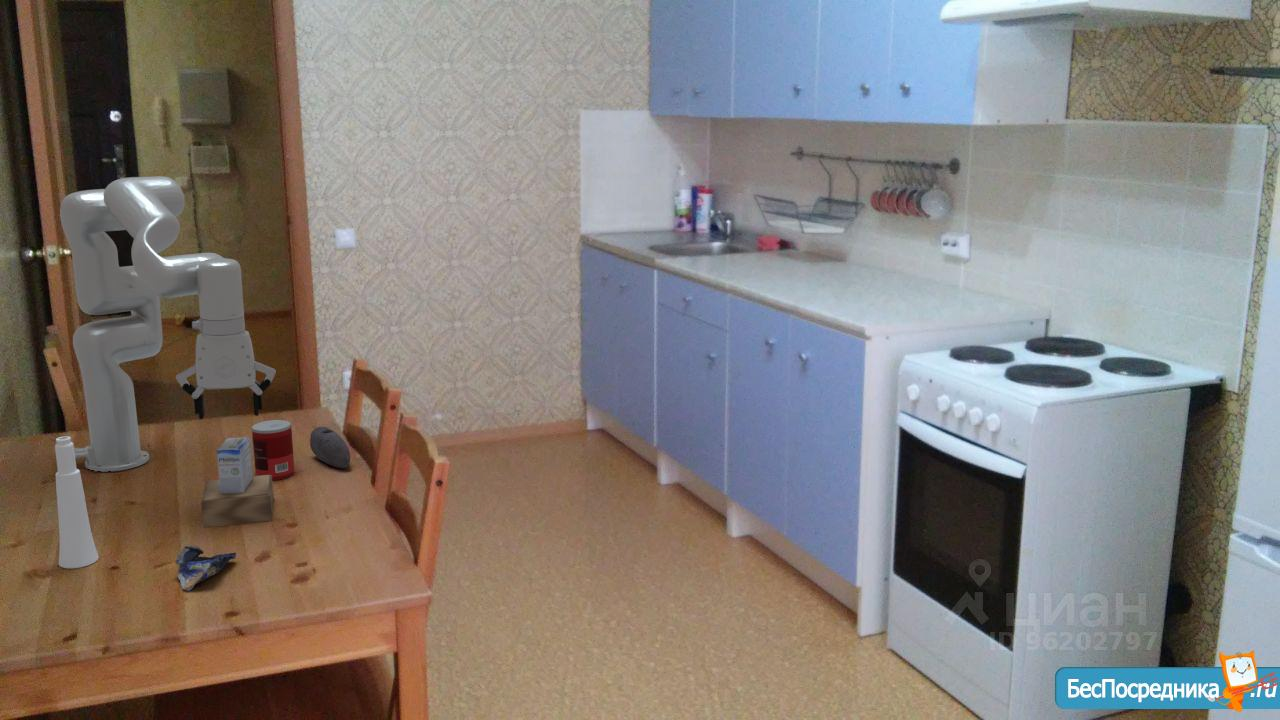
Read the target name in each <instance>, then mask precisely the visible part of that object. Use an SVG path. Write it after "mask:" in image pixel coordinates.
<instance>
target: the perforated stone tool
mask: <svg viewBox="0 0 1280 720" xmlns="http://www.w3.org/2000/svg"><path fill="white" fill-rule="evenodd" d="M309 446H310V450H311V451H312V453H313V454H314V456H316V458H317V459H318V460H320V461H322V462H323V463H326V464H327V465H330V466H332V467H334V468H337V469H346V468H347V467H349V465H350V463H351V452H350V449H349V446H348V444H347V442H345V440H344V438H342V437H341V436H340V435H339V434H338V433H337V432H336V431H335V430H332V429H330V428H329V427H325V426H319V427H316V428H314V429H313V430H312V431H311V433H310V439H309Z"/></svg>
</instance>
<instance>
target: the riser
mask: <svg viewBox="0 0 1280 720" xmlns="http://www.w3.org/2000/svg"><path fill="white" fill-rule="evenodd" d="M274 501H275V499H274V485H273V481H272V475H262V476H257V475H253V479H252V480H251V482H250V484H249V485H248V487H247V488H246V490H245V492H244V493H237V494H221V493H220V484H219V479H211V480H206V482H205V486H204V490H203V494H202V498H201V502H200V504H201V505H200V506H201V514H202V525H203V529H204V528H205V529H206V528H213V527H224V526H234V525H241V524H251V523H259V522H260V523H261V522H270V521H271V522H272V521H273V519H274V518H273V514H274Z"/></svg>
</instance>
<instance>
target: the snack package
mask: <svg viewBox="0 0 1280 720" xmlns="http://www.w3.org/2000/svg"><path fill="white" fill-rule="evenodd" d="M203 554H204V551H203V550H202V549H201V548H200V547H198V546H195V545H194V546H193V545H189V546H188V545H187V546H184V547H183V549H181V551H179V553H178V554H177V555H176V559H175V562H174V563H175V565H177V566H179V567H178V568H177V569H178V571H177V578H178V580H179V581H180V586H181V588H182V590H184V591H187V592H191V590H193V588H195V585H197V584H199V583H201V582H203V581H205V580H206V579H208V578H210V577H212V576H214V575H216V574H218V573H219V572H221V570H222V569H223V568H224V567H225V566H226V564H228V563H229V561H230V560H234V559H236V557H237V553H236V552H230V553H224V554H223V553H221V554H215V555H213V556H211V557H207V556H200V555H203ZM200 573H202V575H200V577H199V578H198V579H197V580H196V581H195V582H194V583H193V584H191V585H189V586H188V587H185V585H187V583H189V582H190V581H191V580H193V579H195V578H196V577H198V574H200Z"/></svg>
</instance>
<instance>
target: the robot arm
mask: <svg viewBox="0 0 1280 720" xmlns="http://www.w3.org/2000/svg"><path fill="white" fill-rule="evenodd" d="M185 202H186V201H185V195H184V192H183V189H182V188H181V186H180V185H179V183H178V182H176V181H175V180H174V179H172V178H171V177H168V176H162V175H159V176H158V175H157V176H156V175H155V176H131V177H122V178H118V179H116V180H113V181H111V182H110V183H109V184H108V185H107V186H106V187H105V188H99V189H96V188H95V189H86V190H79V191H76V192H72V193H70V194H67V195H66V196H65V197H64V198H63V199H62V201H61V204H60V208H59V218H60V219H59V220H60V223H61V227H62V230H63V232H64V235H65V238H66V239H67V241H68V244H69V248H70V251H71V256H72V257H71V258H72V266H73V267H72V268H73V277H74V287H75V295H76V300H77V305H78V307H79V308H80V310H81V311H82V312H83V313H84V314H87V315H92V316H101V315H109V314H118V313H123V312H130V313H131V315H129V316H123V317H115V318H107V319H101V320H95V321H94V320H93V321H90V322H87V323H84V324H82V325H80V326H79V327H78V328H77V329H76V330H75V332H74V333H73V336H72V344H73V345H72V347H73V349H74V353H75V356H76V359H77V362H78V365H79V369H80V374H81V379H82V385H83V391H84V392H83V393H84V400H85V409H86V417H87V425H88V433H89V442H90V444H89V445H86V446H85V447H74V452H75V460H76V459H77V460H78V459H79V460H80V459H85V461H84V467H85V469H87V468H88V469H90V470H89V471H91V470H94V471H93V472H97V471H101V472H102V473H106V472H107V473H108V471H111V472H121V471H126V470H130V469H134V468H137V467H140V466H142V465H144V464H146V463H147V462H149V460H150V454H149V452H147V451H145V450H141V443H140V432H139V424H138V415H137V407H136V406H137V405H136V398H135V389H134V383H133V380H132V378H131V376H129V374H128V373H126V372H125V371H124V370H123V369H122V368H121V366H120V364H122V363H126V362H131V361H136V360H142V359H147V358H151V357H154V356H156V355H158V354H159V352H161V349H162V347H163V338H164V337H163V324H162V313H161V301H160V297H161V298H164V299H172V298H180V297H187V296H195V295H198V306H199V317H200V318H199V319H198V320H196V321H195V320H193V321H191V327H192V329H196V330H199V331H200V332H199V333H198V334H197V335H196V340H195V363H194V364H193V365H192V366H190V367H188V368H186V369H184V370H182V371H180V372H179V373H176V376H175V379H176V381H177V383H178V384H179V385H180V386H181V388H182V389H183V391H184V392H186V393H187V394H188V395H189V396H191V398H192V399H193V400H194V401H193V403H194V404H193V405H194V414H195V415H198V418H199V419H198V420H203V419H204V418H205V413H206V412H205V403H204V395H203V392H204V391H205V390H228V389H244V388H249V389H251V391H252V392H253V394H252V395H253V396H252V399H253V400H252V401H253V412H254V413H253V414H254V416H256V417H259V416H260V415H259V414H260V411H263V398H262V397H263V395H262V394H263V393H264V392H265V391H266V390H267V388H269V387H270V385H271V383H272V382H273V380H274V378H275V376H276V373H277V371H276V369H275V368H273V367H270V366H268V365H266V364H263V363H261V362H258V361H256V359H255V354H254V347H253V343H252V339H251V336H250V332H249V331H248V330H246V324H245V322H246V321H245V310H244V297H243V296H244V294H243V282H242V281H243V280H242V267H241V265H240V263H239V262H238V261H237V260H236V259H232V258H225V257H224V256H222V255H219V254H218V253H214V252H200V253H187V254H178V255H169V256H161V255H159V253H162V252H163V251H164V250H166V249H168V248H169V247H170V246H172V245H173V244H174V243H175V241H176V240H177V238H178V237H179V234H180V230H181V228H180V227H181V225H180V221H179V219H178V218H177V217H179V216H180V215H182V212H183V211H184V209H185V205H186V203H185ZM114 231H115V232H116V231H126V232H128V234H129V235H130V236H131V237H132V238H133V242H132V245H131V251H130V253H131V262H132V265H127V266H120V264H119V263H120V262H119V254H118V252H119V251H118V248H117V245H116V244H115V241H114V240H113V239H112V238H111V237H110V236H109V235H108V234H107V233H106V232H114ZM257 371H258V372H261V373H263V374H265V375H266V376H265V377H264V379H263V380H262V381H261V382H260V383H259V381H258V380H256V375H257V374H256V373H257ZM193 375H195V377H196V379H195V380H196V386H194V385H192V384H191V383H190V382H189V381H188V379H187V378H189V377H191V376H193ZM88 469H87V470H88ZM101 472H100V473H101Z"/></svg>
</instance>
